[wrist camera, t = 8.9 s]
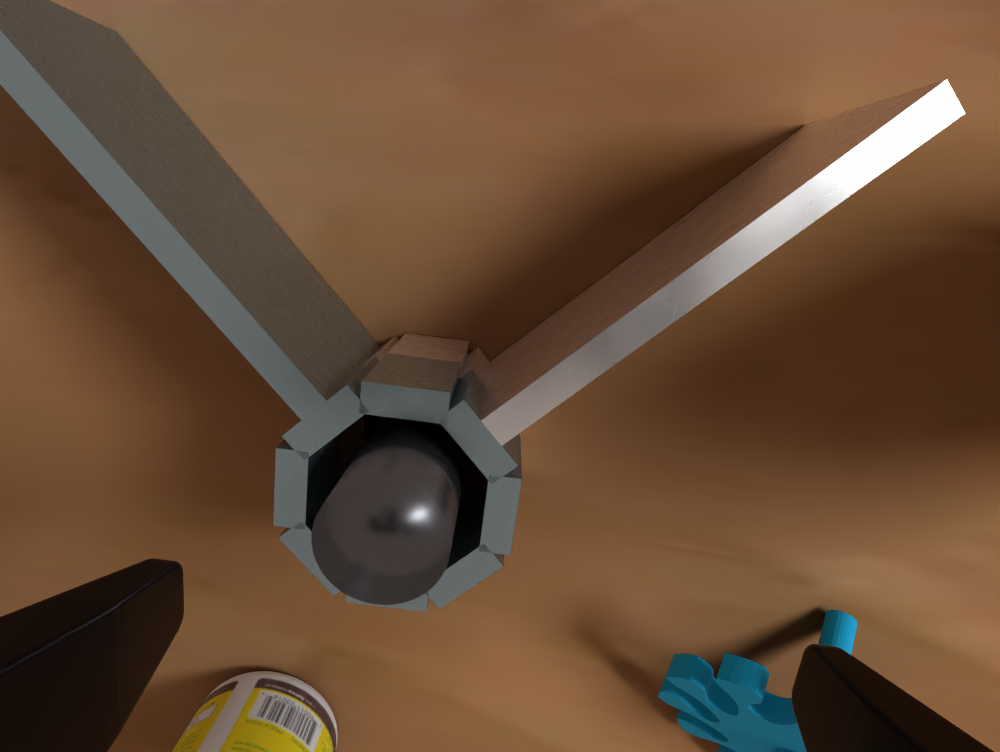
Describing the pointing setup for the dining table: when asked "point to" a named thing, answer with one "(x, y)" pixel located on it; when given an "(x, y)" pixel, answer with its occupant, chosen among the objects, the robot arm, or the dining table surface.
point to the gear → (742, 697)
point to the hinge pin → (392, 513)
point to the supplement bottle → (261, 717)
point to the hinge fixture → (414, 358)
